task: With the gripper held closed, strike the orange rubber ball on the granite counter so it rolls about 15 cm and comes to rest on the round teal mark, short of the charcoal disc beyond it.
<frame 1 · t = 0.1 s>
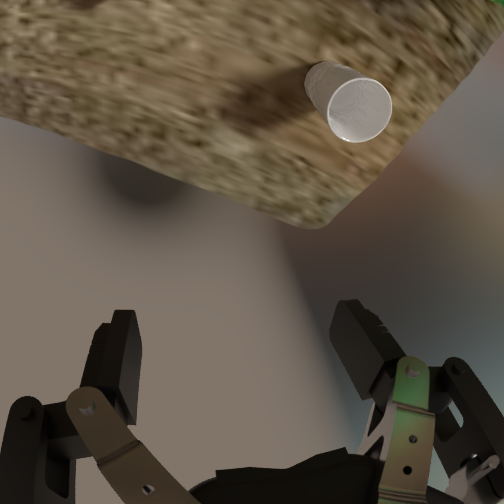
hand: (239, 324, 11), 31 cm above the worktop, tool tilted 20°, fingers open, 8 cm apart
white cup: (327, 82, 33), on the worktop
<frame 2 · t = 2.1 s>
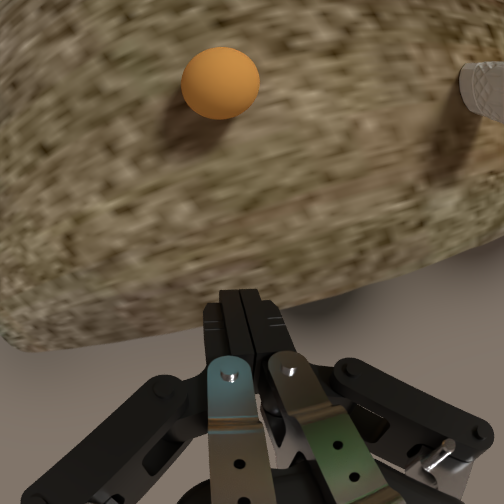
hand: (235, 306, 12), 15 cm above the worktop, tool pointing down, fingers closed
white cup: (472, 87, 23), on the worktop
ball: (220, 83, 18), on the worktop
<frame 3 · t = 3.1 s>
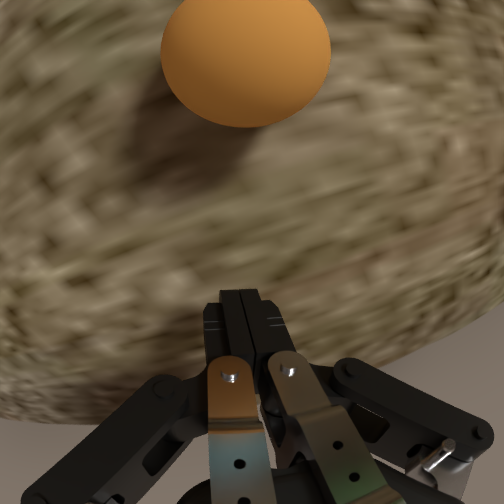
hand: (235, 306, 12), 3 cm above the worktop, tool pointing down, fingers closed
ball: (245, 50, 8), on the worktop
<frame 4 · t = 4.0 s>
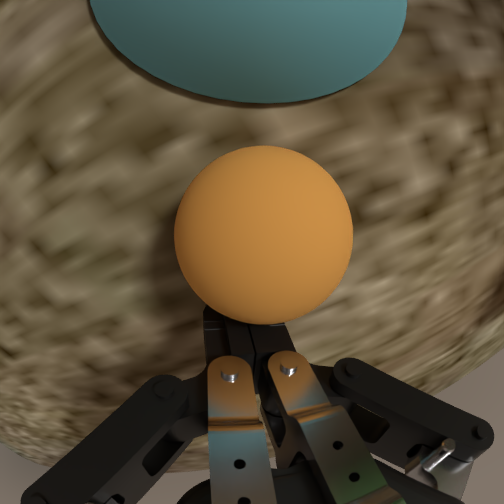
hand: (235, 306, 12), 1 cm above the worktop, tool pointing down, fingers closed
ball: (263, 234, 9), on the worktop, touching gripper
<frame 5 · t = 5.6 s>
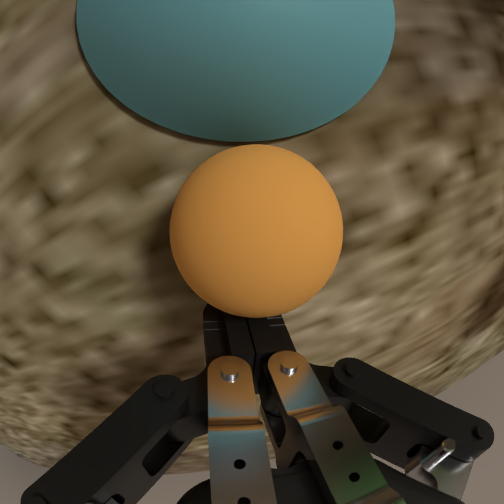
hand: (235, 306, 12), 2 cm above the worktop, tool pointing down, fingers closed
ball: (256, 230, 9), on the worktop, touching gripper
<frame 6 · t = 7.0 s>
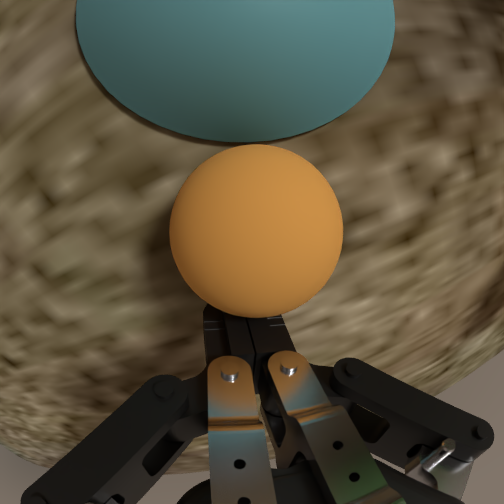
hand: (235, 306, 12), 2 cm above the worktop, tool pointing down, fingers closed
ball: (256, 230, 9), on the worktop, touching gripper
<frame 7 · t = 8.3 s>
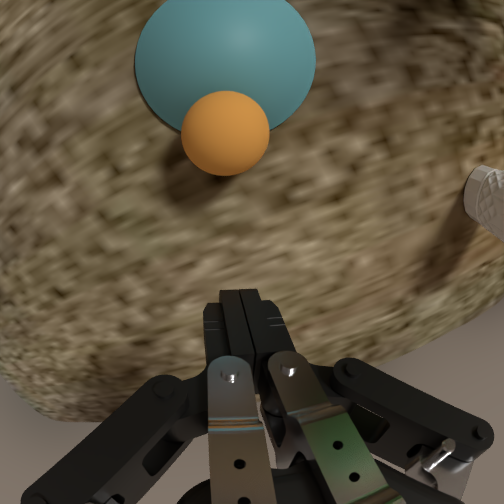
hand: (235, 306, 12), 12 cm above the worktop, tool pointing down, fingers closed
white cup: (477, 191, 27), on the worktop
ball: (225, 132, 17), on the worktop
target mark: (227, 55, 17), on the worktop
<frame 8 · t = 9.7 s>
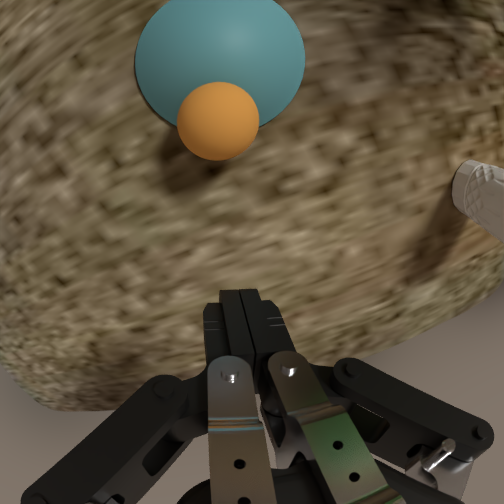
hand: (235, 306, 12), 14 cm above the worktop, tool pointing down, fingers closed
white cup: (466, 184, 28), on the worktop
ball: (217, 120, 18), on the worktop
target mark: (221, 55, 18), on the worktop
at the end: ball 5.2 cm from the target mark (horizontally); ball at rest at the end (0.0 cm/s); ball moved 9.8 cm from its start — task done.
